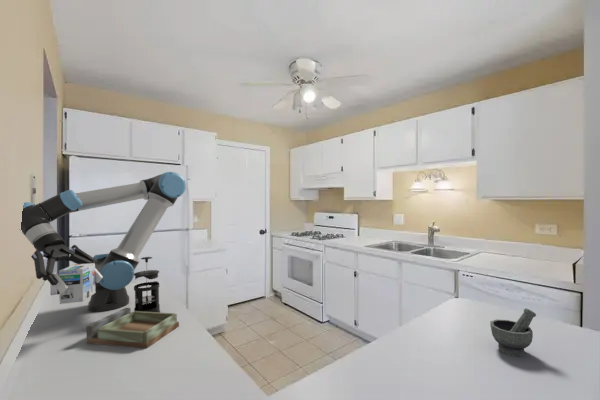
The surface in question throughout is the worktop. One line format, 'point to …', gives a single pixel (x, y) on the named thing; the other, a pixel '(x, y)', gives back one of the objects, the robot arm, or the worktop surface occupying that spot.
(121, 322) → the wooden drawer tray
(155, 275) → the french press
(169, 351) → the worktop surface
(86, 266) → the light bulb box
